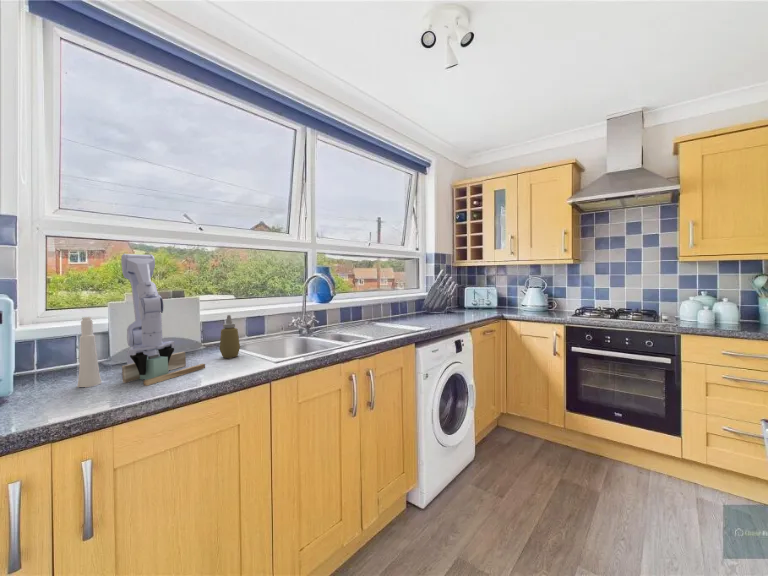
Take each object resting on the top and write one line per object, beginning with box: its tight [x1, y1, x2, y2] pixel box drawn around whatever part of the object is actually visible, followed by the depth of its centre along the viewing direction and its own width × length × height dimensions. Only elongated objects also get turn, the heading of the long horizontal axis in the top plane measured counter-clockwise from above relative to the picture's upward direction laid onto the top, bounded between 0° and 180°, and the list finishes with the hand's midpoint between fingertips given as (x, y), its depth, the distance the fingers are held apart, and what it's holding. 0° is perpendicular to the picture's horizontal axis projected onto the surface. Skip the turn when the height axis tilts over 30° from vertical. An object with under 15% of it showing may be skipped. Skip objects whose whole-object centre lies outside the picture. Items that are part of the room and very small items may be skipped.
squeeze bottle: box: [219, 314, 241, 359], centre depth 145 cm, size 8×8×18 cm
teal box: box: [139, 354, 169, 380], centre depth 116 cm, size 7×5×8 cm
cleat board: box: [121, 351, 206, 387], centre depth 120 cm, size 12×22×6 cm, turn 160°
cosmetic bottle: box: [76, 316, 103, 388], centre depth 109 cm, size 6×6×22 cm
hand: (153, 371), depth 116 cm, fingers open, 7 cm apart
